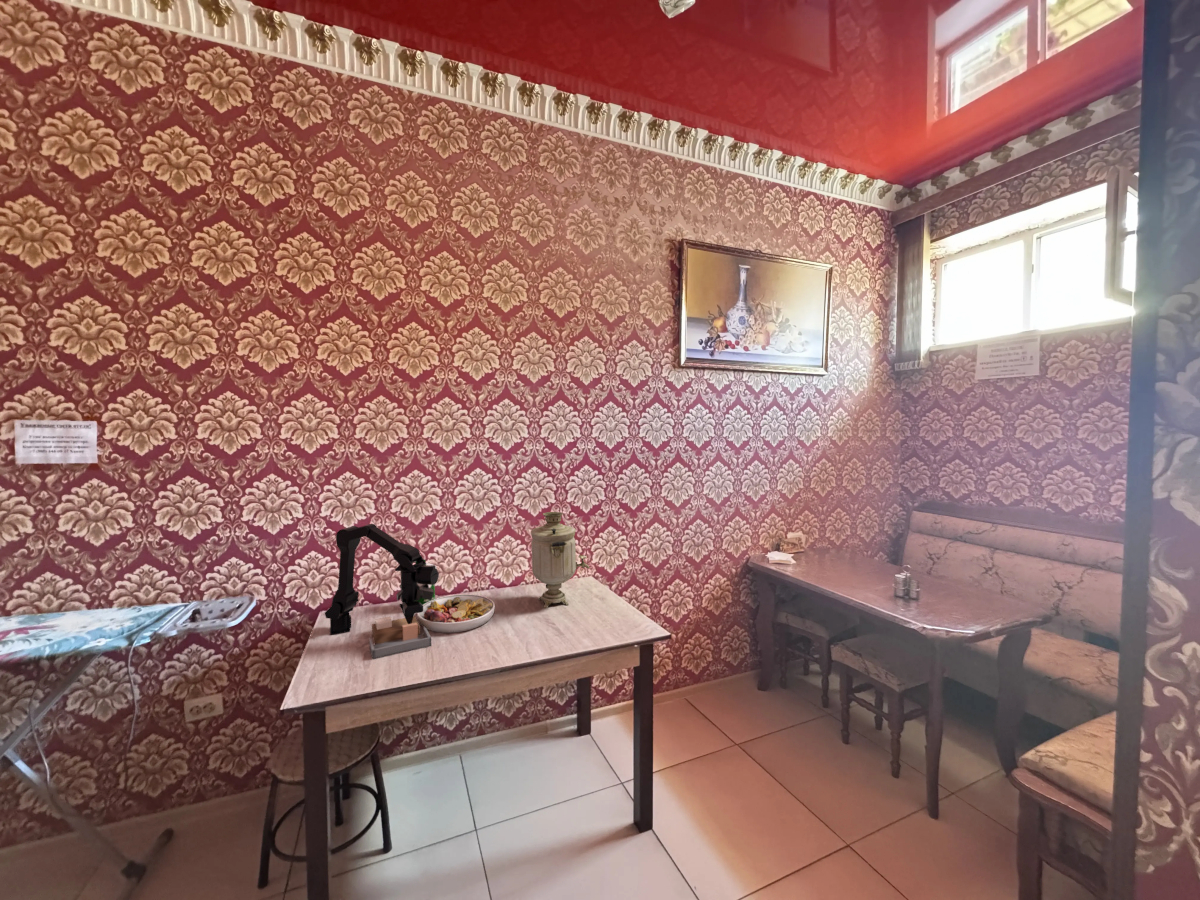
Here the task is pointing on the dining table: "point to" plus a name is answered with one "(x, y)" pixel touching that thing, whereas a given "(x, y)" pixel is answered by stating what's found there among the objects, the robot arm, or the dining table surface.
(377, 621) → the cream tile
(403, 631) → the terracotta tile
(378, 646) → the tray
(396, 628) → the board
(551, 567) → the samovar
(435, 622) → the bowl
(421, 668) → the dining table surface
